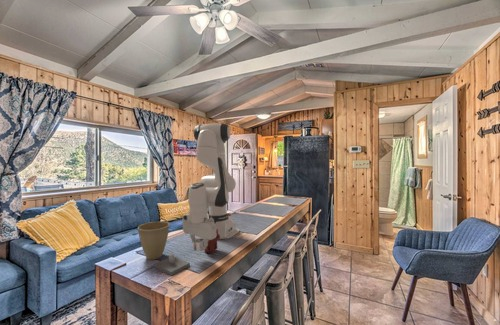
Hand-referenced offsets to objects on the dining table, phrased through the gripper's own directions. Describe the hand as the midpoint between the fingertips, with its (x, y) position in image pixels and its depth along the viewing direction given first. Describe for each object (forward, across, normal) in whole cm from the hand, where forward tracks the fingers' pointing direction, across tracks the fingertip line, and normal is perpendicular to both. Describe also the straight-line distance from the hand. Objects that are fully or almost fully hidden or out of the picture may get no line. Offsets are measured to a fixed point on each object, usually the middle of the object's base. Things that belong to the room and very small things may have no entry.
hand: (199, 244), depth 109 cm
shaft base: (+7, +6, +12) cm, 15 cm away
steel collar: (+2, 0, 0) cm, 2 cm away
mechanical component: (+8, +3, -10) cm, 13 cm away
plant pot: (+8, +23, +10) cm, 26 cm away
